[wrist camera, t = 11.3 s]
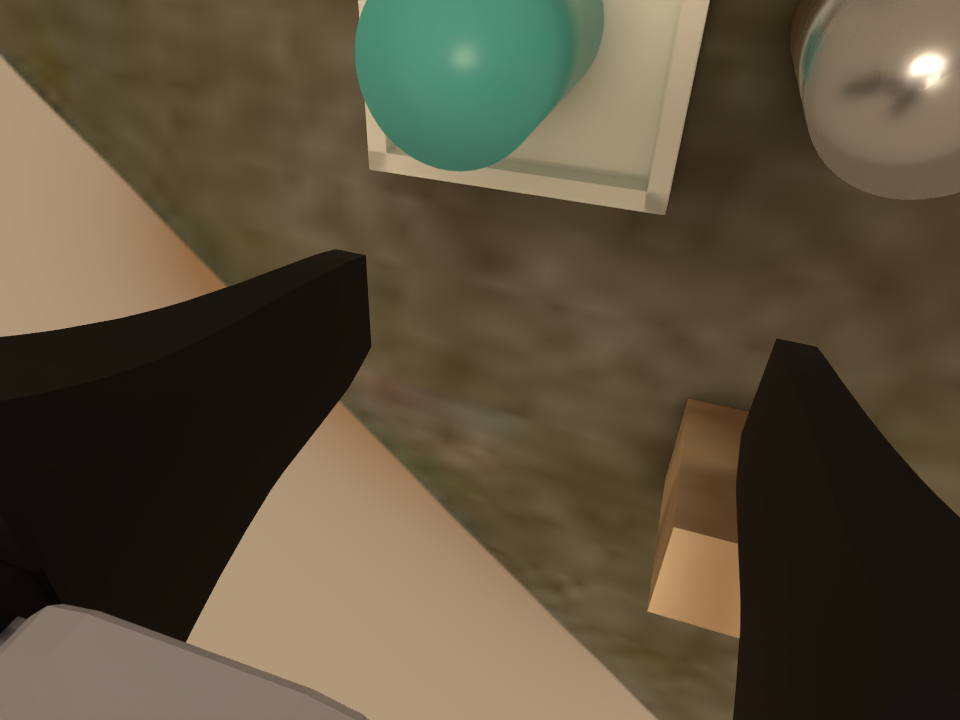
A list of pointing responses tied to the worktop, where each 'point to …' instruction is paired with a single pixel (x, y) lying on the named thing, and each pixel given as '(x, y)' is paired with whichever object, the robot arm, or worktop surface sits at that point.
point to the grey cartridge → (882, 92)
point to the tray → (598, 118)
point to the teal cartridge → (471, 72)
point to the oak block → (700, 523)
